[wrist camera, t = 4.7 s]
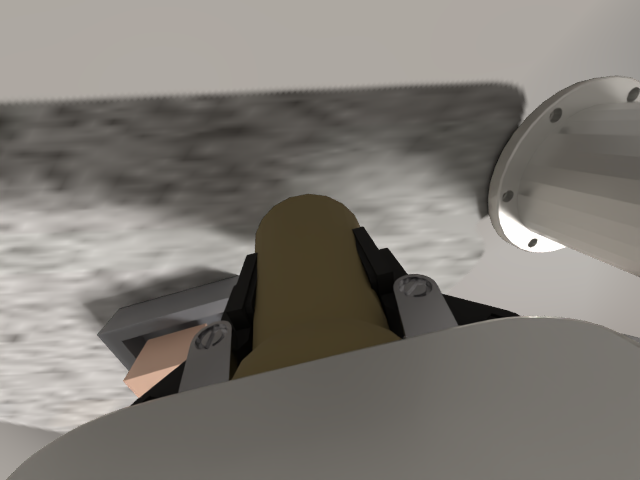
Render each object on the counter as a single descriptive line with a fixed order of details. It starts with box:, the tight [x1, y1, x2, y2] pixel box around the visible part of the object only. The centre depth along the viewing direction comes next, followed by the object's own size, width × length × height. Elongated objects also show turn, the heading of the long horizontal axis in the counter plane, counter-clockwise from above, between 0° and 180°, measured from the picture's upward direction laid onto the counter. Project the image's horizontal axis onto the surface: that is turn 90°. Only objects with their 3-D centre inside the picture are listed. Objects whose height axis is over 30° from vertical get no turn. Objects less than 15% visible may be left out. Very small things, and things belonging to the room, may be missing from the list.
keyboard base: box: [97, 276, 239, 371], centre depth 21 cm, size 9×19×2 cm, turn 13°
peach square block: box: [123, 323, 207, 398], centre depth 16 cm, size 4×4×3 cm
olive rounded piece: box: [232, 194, 401, 380], centre depth 9 cm, size 6×6×11 cm
